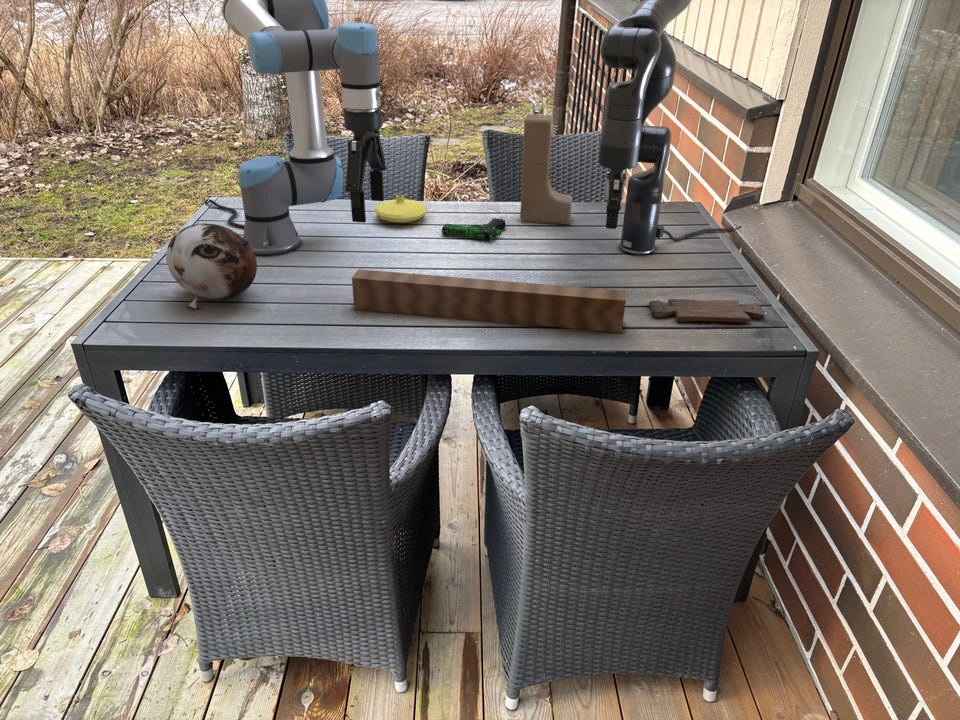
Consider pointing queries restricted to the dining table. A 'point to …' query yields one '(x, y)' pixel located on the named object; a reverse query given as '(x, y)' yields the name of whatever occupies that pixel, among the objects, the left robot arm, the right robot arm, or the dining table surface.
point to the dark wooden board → (706, 310)
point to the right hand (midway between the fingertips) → (611, 220)
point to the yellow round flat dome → (400, 210)
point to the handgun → (476, 230)
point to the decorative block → (540, 176)
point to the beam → (489, 300)
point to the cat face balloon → (211, 261)
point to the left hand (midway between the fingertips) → (368, 210)
